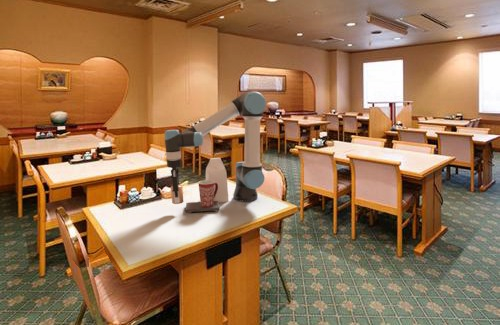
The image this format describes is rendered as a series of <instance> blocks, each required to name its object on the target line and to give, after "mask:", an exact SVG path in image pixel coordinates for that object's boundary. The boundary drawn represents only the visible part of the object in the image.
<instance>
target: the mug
mask: <svg viewBox="0 0 500 325" xmlns="http://www.w3.org/2000/svg"><path fill="white" fill-rule="evenodd" d="M197 184H198V190H199V191H198V192H199V199H200V201H199V202H201V206H202V207H211V206H213V205H214V197H215V195H216V193H217V190H218V184H217V183H215V182H214V181H212V180H206V179H204V180H200V181H198V182H197ZM214 185H215V191H214Z"/></svg>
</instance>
